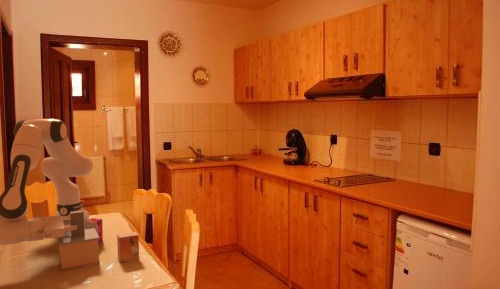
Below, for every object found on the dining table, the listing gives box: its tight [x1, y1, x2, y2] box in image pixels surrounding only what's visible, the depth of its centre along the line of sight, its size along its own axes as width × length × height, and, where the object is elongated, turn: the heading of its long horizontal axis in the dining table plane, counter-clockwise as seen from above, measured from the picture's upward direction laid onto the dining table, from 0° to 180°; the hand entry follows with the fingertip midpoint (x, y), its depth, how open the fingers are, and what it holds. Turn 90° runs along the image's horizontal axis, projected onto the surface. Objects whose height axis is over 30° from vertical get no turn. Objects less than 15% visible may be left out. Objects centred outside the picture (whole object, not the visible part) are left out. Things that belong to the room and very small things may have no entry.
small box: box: [116, 231, 140, 263], centre depth 170 cm, size 8×6×10 cm
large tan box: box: [59, 240, 100, 271], centre depth 168 cm, size 14×14×10 cm
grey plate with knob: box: [57, 211, 99, 246], centre depth 167 cm, size 15×15×11 cm
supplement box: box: [85, 217, 104, 245], centre depth 189 cm, size 6×6×12 cm
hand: (75, 223), depth 167 cm, fingers open, 8 cm apart
